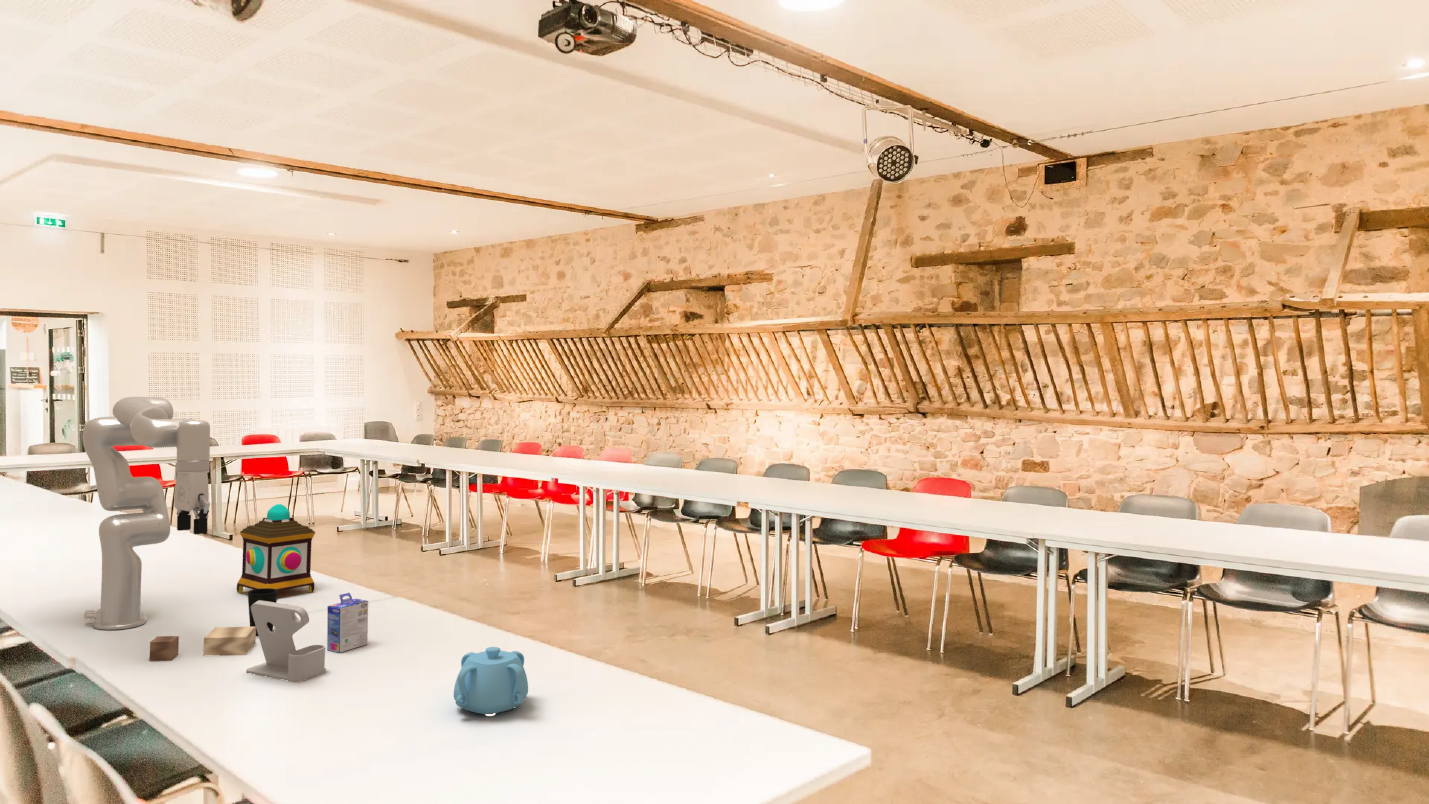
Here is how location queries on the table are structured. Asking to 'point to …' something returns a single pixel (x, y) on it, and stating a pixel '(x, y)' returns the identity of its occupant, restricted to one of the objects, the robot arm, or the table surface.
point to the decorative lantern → (276, 553)
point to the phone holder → (285, 643)
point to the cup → (262, 595)
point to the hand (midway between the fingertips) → (192, 531)
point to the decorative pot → (491, 681)
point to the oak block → (229, 641)
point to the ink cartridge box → (347, 624)
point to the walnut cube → (164, 648)
